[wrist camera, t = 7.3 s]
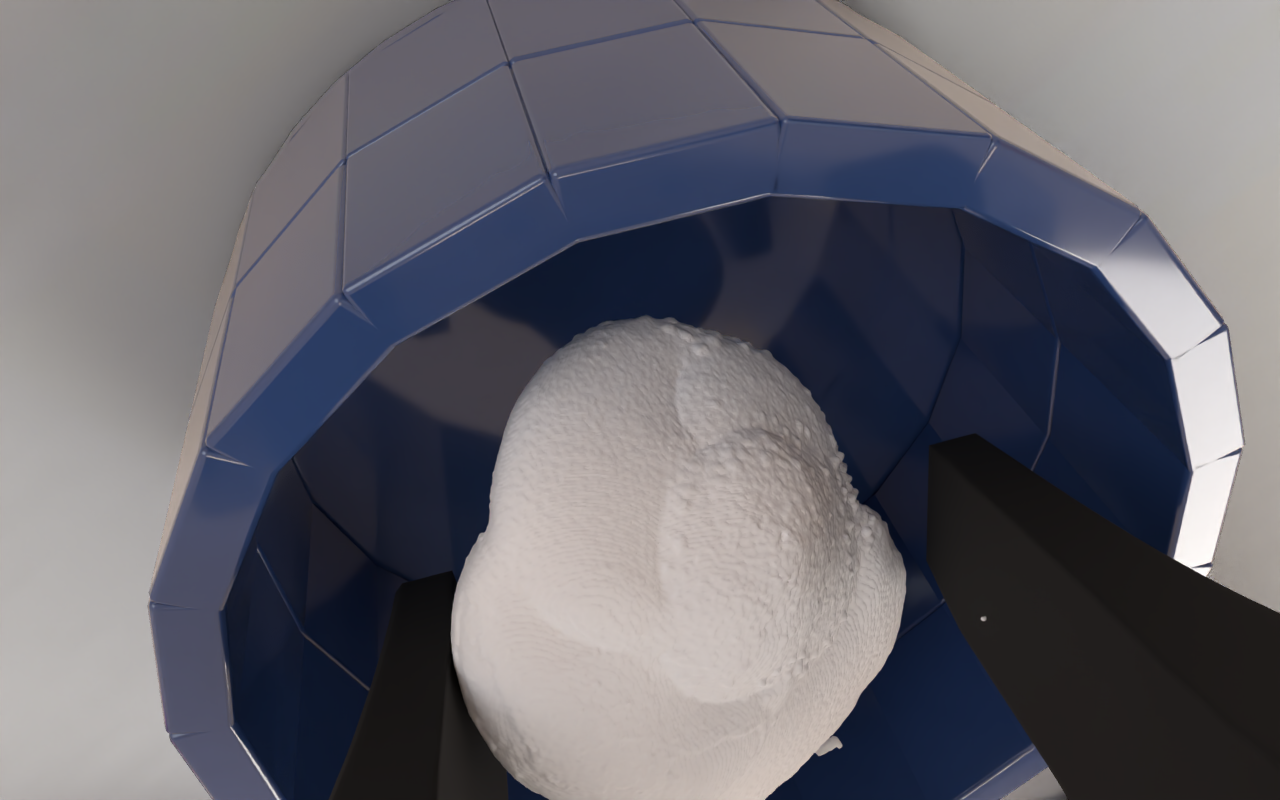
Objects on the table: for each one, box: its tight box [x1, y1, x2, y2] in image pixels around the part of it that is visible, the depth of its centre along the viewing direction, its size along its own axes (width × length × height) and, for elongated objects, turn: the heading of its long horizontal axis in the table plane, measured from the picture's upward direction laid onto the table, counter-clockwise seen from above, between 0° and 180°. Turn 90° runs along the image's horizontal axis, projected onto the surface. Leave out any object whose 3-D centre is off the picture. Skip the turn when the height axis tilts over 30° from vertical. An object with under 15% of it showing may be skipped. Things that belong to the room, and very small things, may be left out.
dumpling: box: [451, 315, 987, 800], centre depth 13 cm, size 7×5×4 cm
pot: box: [148, 0, 1245, 800], centre depth 14 cm, size 12×12×6 cm
